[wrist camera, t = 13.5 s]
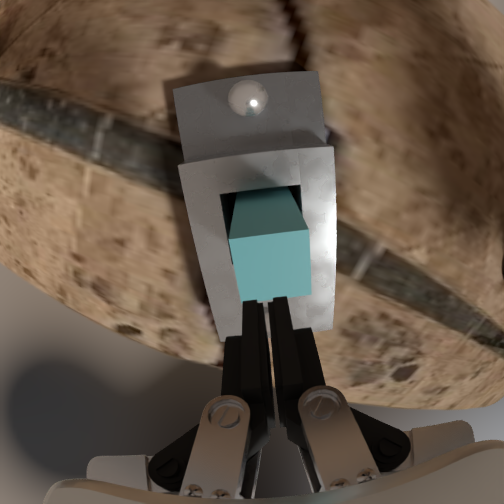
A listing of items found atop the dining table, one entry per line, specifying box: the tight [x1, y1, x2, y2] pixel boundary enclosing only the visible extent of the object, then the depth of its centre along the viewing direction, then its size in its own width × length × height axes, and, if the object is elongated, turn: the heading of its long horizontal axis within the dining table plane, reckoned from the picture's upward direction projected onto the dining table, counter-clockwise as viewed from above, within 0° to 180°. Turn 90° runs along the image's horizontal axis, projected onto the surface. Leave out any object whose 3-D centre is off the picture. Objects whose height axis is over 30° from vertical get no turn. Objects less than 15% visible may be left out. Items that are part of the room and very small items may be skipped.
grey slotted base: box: [173, 71, 336, 341], centre depth 21 cm, size 11×22×5 cm, turn 7°
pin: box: [229, 186, 312, 303], centre depth 19 cm, size 4×4×10 cm
